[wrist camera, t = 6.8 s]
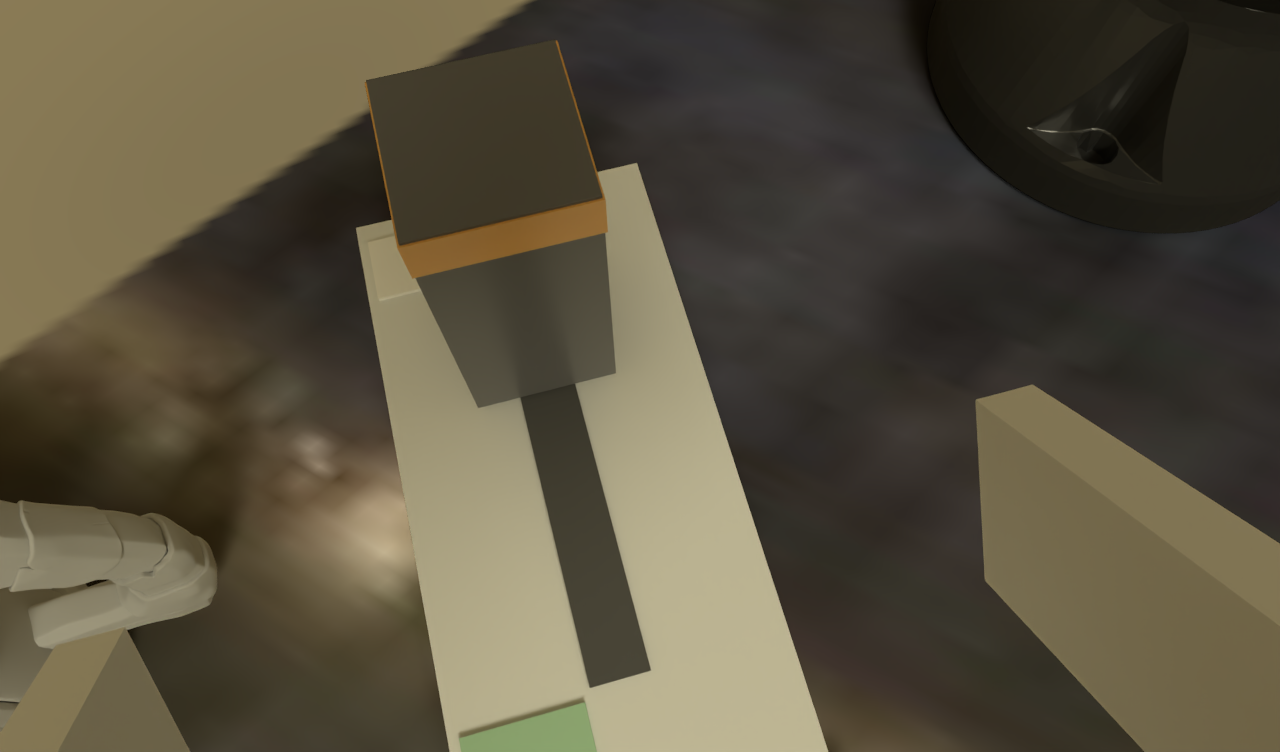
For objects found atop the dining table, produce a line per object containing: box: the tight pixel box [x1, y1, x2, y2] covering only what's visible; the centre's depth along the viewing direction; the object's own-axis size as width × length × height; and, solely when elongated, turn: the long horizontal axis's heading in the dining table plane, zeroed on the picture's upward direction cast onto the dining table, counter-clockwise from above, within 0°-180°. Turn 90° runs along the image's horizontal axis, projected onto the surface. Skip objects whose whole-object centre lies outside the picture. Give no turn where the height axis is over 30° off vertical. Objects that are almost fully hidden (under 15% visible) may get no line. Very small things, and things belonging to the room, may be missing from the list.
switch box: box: [356, 163, 828, 752], centre depth 27 cm, size 9×18×4 cm, turn 15°
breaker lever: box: [365, 40, 616, 408], centre depth 22 cm, size 4×4×9 cm
